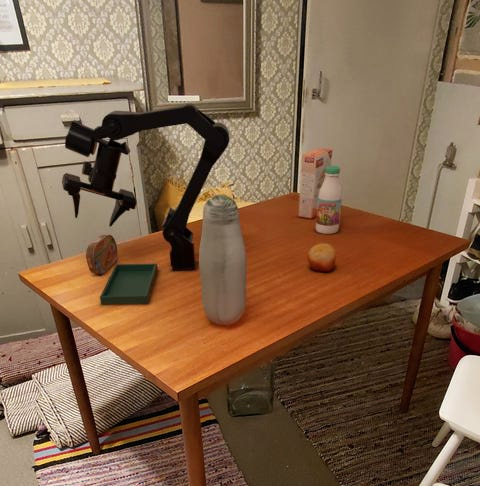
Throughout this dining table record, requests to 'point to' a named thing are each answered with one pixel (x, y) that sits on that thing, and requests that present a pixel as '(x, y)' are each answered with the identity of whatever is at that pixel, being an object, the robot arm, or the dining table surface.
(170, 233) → the robot arm
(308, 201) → the cracker box
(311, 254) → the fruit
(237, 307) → the glass bottle
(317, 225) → the milk bottle
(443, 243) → the dining table surface
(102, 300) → the tray
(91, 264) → the tin
